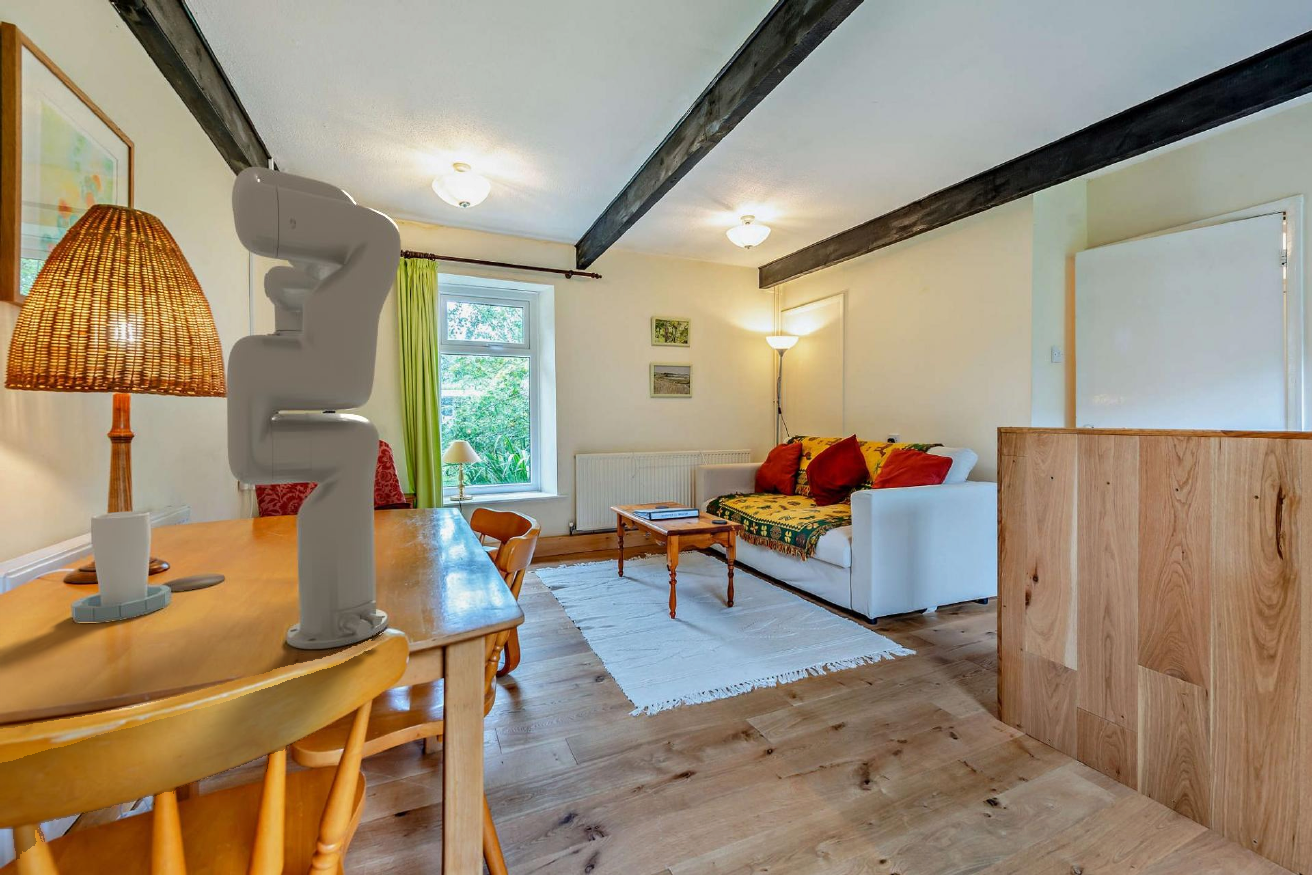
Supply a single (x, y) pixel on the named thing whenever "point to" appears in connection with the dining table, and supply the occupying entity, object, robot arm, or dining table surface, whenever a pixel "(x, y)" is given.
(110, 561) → the drinking glass
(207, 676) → the dining table surface
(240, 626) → the dining table surface
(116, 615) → the round dish
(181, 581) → the walnut coaster
